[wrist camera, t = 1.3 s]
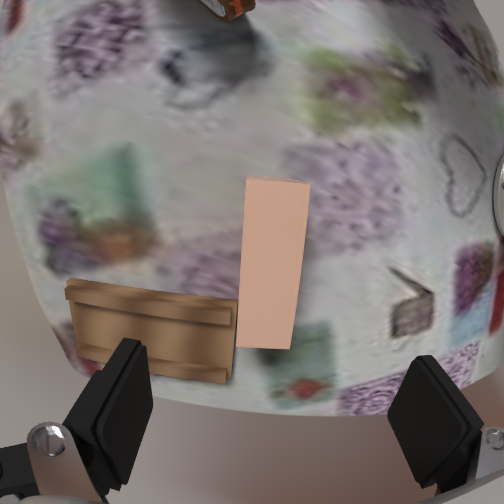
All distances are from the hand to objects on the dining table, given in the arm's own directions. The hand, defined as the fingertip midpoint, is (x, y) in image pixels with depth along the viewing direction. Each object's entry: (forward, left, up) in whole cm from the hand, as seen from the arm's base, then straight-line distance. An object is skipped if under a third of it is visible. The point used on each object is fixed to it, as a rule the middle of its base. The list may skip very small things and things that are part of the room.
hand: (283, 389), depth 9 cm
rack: (+11, +10, -18) cm, 23 cm away
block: (0, 0, -18) cm, 18 cm away
